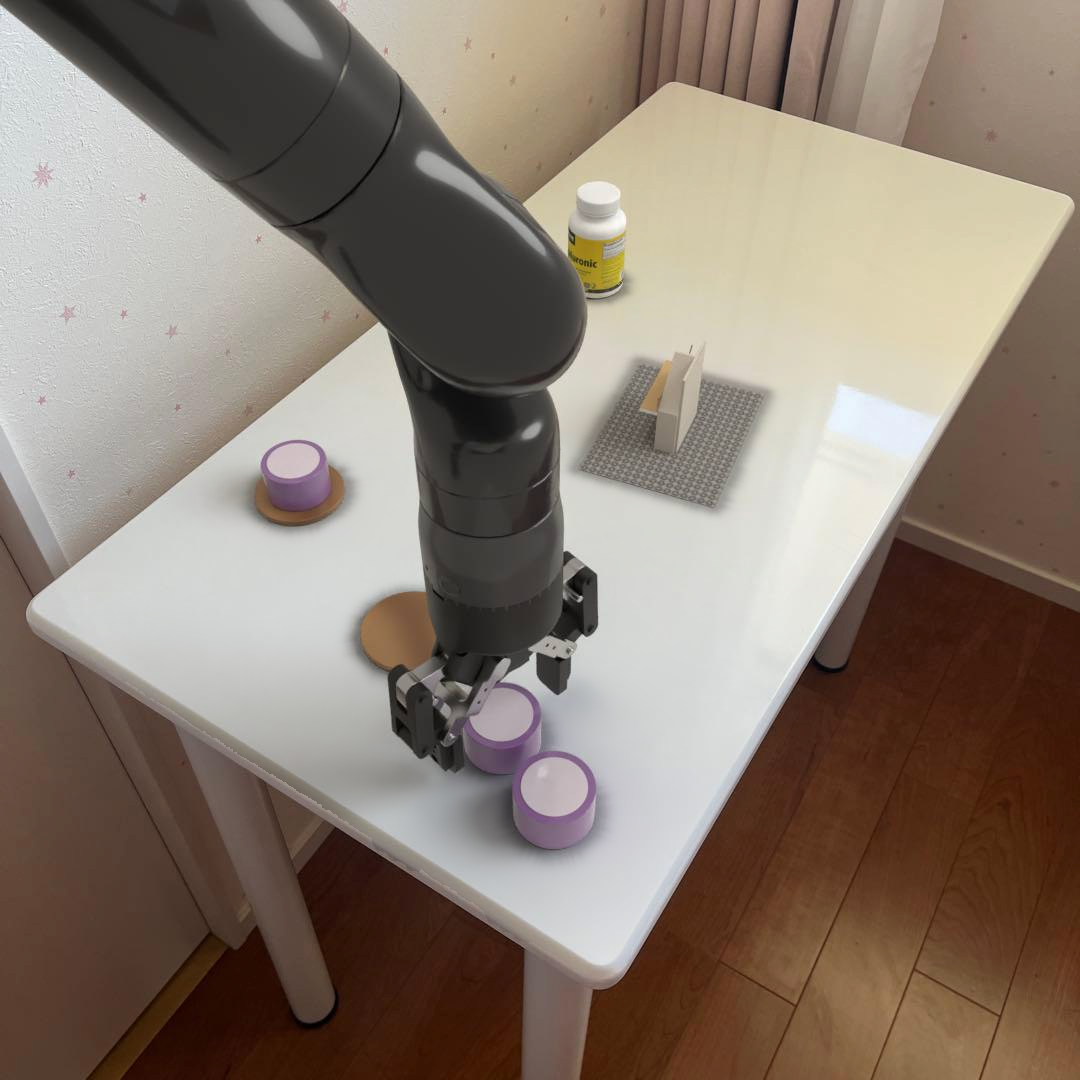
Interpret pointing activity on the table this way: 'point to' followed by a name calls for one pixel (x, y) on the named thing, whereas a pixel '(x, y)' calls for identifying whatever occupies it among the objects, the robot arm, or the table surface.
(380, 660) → the brown wooden coaster
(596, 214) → the supplement bottle
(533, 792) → the purple rimmed puck
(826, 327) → the table surface
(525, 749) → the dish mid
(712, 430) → the architectural model
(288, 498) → the purple short cylinder
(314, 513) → the coaster far
